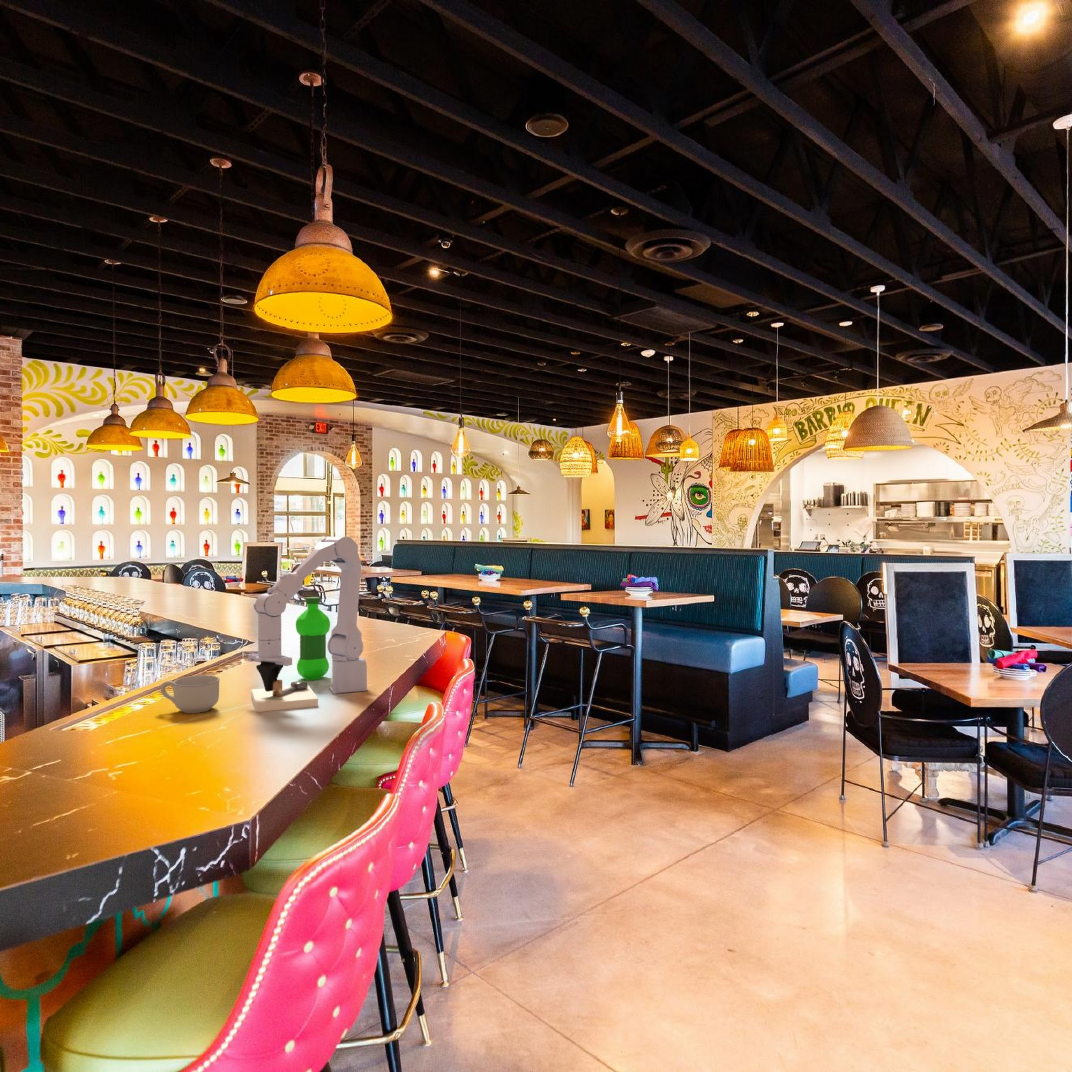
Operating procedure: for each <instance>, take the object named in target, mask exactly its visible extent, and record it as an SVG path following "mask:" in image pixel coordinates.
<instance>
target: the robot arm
mask: <svg viewBox="0 0 1072 1072" xmlns="http://www.w3.org/2000/svg"><path fill="white" fill-rule="evenodd" d="M358 549H359V545H358V543H357V542H356V541H355V540H354V539H353V538H351V537H350V536H346V535H345V536H330V535H329V536H325V537H323V538H322V539H321V541H319V542H318V543H317V544H315V547H314V549H313V550H312V551H311V552H310V553H309V554H308V555H307V557H305V559H304V560H303V561H302V562H301V563H300V564H299V565H298V567H297V568H296V569H295V570H294V571H293V572H286V573H281V575H279V580H278V581H277V582H275V583H274V584H273V585H272V587H268V589H266V592H265V593H261V594H260V595H258V597H257V598H256V600H255V603H254V604H253V609H254V611H255V612H256V614H257V622H258V623H257V626H258V627H257V630H258V631H257V637H258V639H257V640H258V641H257V647H258V648H257V653H255V652H254V653H253V652H252V653H248V655H247V659H248V661H247V662H256V663H259V664H257V665H256V666H255V667H256V670H257V671H258V673H259V675H260V677H261V680H262V683H263V687H264V688H265V691H267V692H269V691H273V680H278V677H279V674H280V673H281V672H282V669H283V668H284V667H289V666H292V665H293V657H292V656H291V657H289V656H286V655H283V654H282V614H283V613H284V612H286V608H287V604H288V603H289V602H290V600H292V599H293V597H294V596H296V595H297V594H298V593H299V591H300V590H302V588H303V586H304V585H303V584H304V581H305V579H306V578H308V577H309V576H310V575H311V574H312V573H313V572H314V571H315V570H316V569H317V568H319V567H320V566H321V565H322V564H323V563H324V562H329V561H330V562H333V563H334V564H335V565H336V566H337V567H338V568H339V569H340V571H341V573H340V585H339V595H338V607H337V608H338V609H337V617H336V618H337V620H336V625H335V626H334V627H333V629H331V633H330V634H331V635H330V638H328V642H327V645H326V648H327V652H328V653H329V654H330V655H331V661H332V665H331V666H332V669H331V672H332V675H331V676H332V680H331V681H332V686H329V687H328V688H329V690H330V691H331V692H332V693H333V694H341V693H343V694H344V693H351V692H352V693H353V692H363V691H364V692H366V691H368V670H367V669H368V666H367V661H366V658H365V657H362V658H361V657H360V656H361V655H362V653H363V651H364V643H363V640H362V631H361V630H360V629H359V627H358V625H357V622H358V611H359V602H360V601H359V598H360V587H361V576H362V575H361V573H362V562H361V559H360V558H361V557H360V555H359V552H358V551H359V550H358Z"/></svg>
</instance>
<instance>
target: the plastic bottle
mask: <svg viewBox="0 0 1072 1072" xmlns="http://www.w3.org/2000/svg"><path fill="white" fill-rule="evenodd" d="M305 604H306V605H307V608H306V609H305V610H304V611H303V612H302V613H301V614H300V615H299V616H298V617H297V619H296V620H295V630H296V633H297V634H298V635H299V658H298V661H297V663H296V670H297V672H298V674H299V676H301V677H302V678H303V679H304V680H305V681H306V680H307V681H313V680H320V679H322V677H324V676H325V675H326V674H327V673H328V671H329V668H330V663H329V659H328V658H327V653H326V652H327V645H326V644H327V637H326V636H327V634H328V633H329V631H330V628H331V621H330V619H329V616H328V615H326V613H324V611H322V610H321V609H320V608H319V604H321V598H320V597H319V596H312V597H311V596H310V597H309V596H307V597H305Z"/></svg>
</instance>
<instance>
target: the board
mask: <svg viewBox="0 0 1072 1072" xmlns="http://www.w3.org/2000/svg"><path fill="white" fill-rule="evenodd" d="M290 687H291V685H290V686H282V690H285V689H287V688H290ZM250 693H251V700H252V702H253V705H254V709H255V712H256V713H262V712H270V711H271V712H272V711H280V710H282V711H283V710H294V709H302V708H313V707H315V708H316V707H318V706H319V698H318V697H317V695H316V694H315V692H314V691H313V690H312V688H311V686H310V685H309V684H308V688H306V689H302V690H295V691H292V692H289V693H286V694H284V695H282V696H280V697H273V698H271V696H273V691H269V692H267V691H265V687H264V688H256V689H255V688H253V689H251V692H250Z"/></svg>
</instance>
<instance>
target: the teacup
mask: <svg viewBox="0 0 1072 1072" xmlns="http://www.w3.org/2000/svg"><path fill="white" fill-rule="evenodd" d="M220 679H221V678H220V677H218V676H216V675H209V674H207V675H206V674H197V675H189V676H185V677H180V678H177V679H175V680H166V681H164V682H162V684H161V685H160V693H161V695H162V696H163V697H164V698H166V699H167V700H170V701H171V702H172V704H174V705H175V707H176V708H177V709H178V710H180V711H181V712H183V713H184V714H198V713H200V712H201V713H204V712H207V711H210V710H212V708H214V706H216V704H217V703H218V702H219V699H220V698H219V697H220ZM166 686H171V688H172V690H173V695H171V694H170V693H168V692H167V690H166ZM201 713H200V714H201Z"/></svg>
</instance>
